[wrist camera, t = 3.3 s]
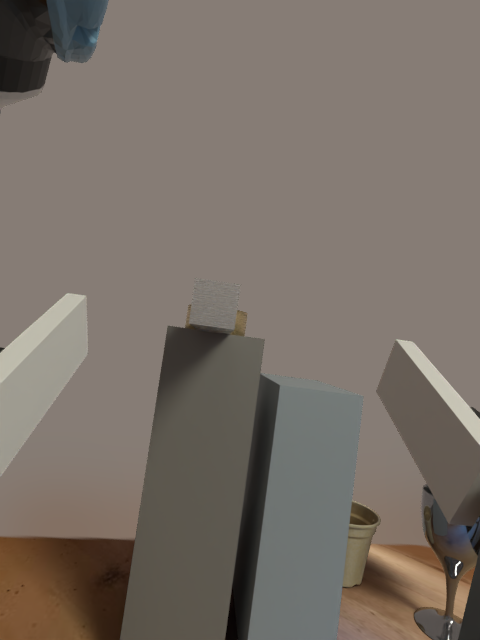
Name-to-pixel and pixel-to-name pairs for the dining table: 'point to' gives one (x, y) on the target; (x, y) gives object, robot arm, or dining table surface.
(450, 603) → the wine glass
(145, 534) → the tall stand
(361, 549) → the flower pot
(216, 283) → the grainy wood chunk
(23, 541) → the dining table surface
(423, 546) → the dining table surface
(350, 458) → the short stand
